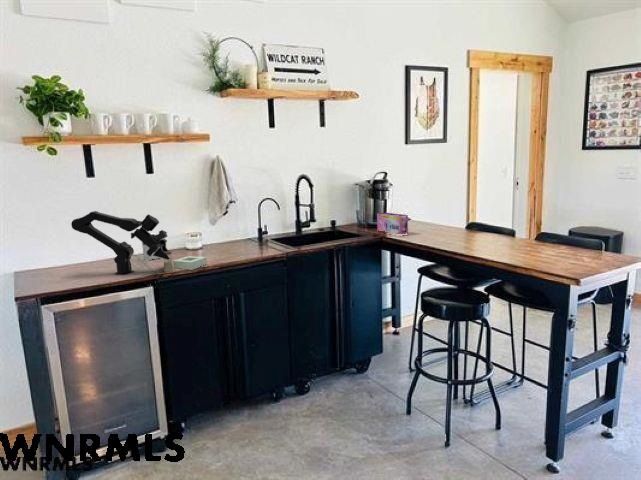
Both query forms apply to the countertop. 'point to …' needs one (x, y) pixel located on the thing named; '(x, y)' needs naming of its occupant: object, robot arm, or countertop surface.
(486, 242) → the countertop surface
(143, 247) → the skincare box
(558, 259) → the countertop surface
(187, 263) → the socket block
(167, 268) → the peg
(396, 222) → the gum box
